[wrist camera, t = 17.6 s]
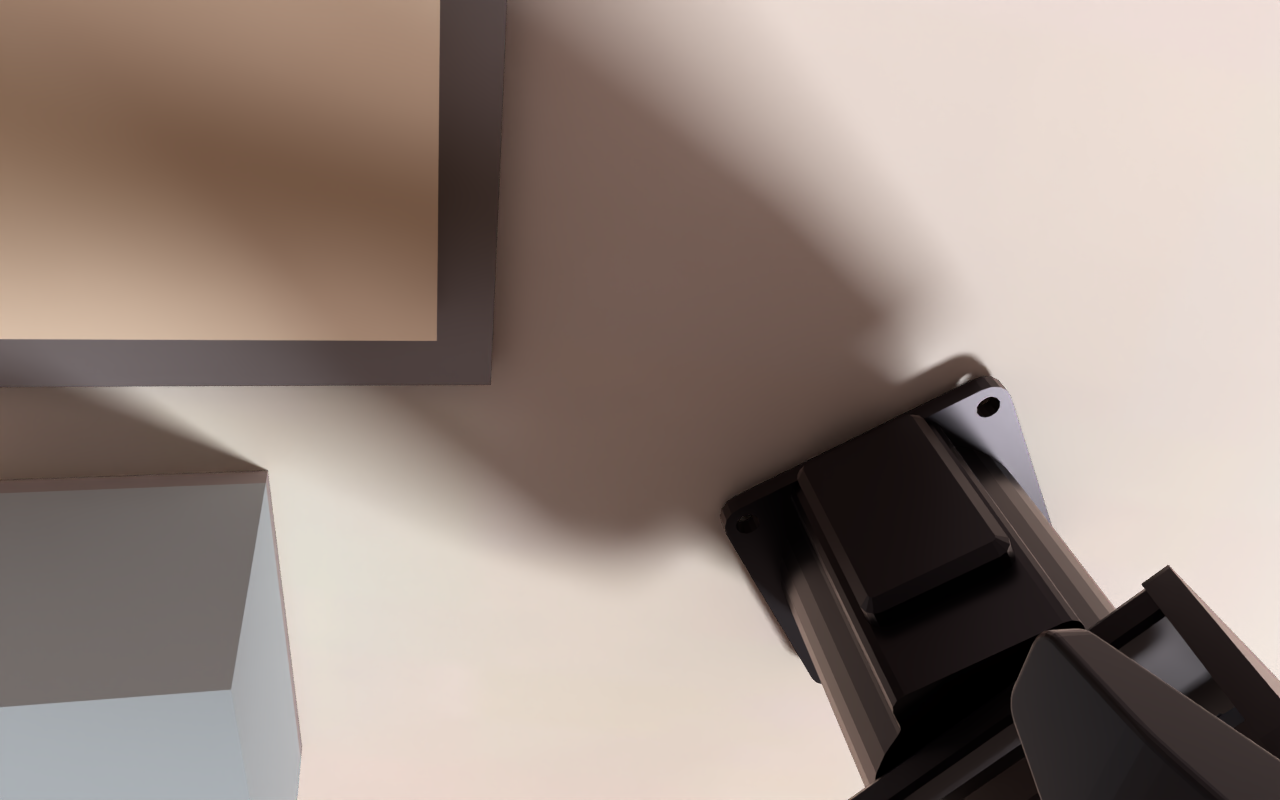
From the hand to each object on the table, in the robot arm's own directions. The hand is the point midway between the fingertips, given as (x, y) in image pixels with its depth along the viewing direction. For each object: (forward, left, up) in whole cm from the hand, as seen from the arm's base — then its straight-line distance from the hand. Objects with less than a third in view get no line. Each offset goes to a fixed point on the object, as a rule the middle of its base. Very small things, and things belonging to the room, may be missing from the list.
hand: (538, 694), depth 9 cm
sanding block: (-5, +10, -11) cm, 16 cm away
